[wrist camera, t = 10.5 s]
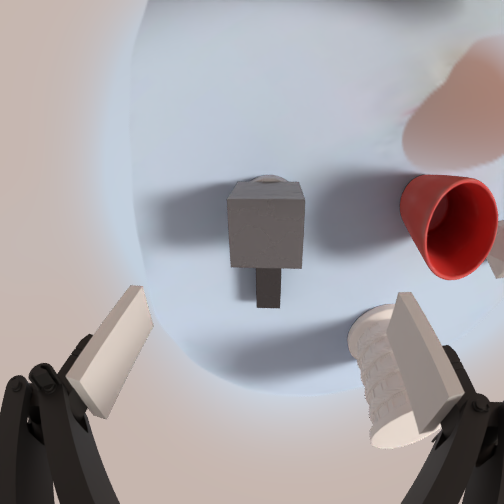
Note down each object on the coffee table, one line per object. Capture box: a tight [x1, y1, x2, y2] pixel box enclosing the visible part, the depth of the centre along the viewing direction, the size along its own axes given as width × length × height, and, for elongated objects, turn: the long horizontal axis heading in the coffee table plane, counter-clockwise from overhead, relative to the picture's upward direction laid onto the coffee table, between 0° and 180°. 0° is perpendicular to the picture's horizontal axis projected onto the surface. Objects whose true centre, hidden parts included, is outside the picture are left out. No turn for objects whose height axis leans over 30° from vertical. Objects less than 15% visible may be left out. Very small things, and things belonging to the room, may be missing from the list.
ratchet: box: [251, 175, 288, 308], centre depth 32 cm, size 16×7×6 cm, turn 1°
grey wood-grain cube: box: [227, 181, 305, 269], centre depth 27 cm, size 6×6×7 cm
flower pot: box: [400, 175, 498, 280], centre depth 26 cm, size 11×11×10 cm
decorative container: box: [347, 304, 441, 449], centre depth 32 cm, size 12×12×18 cm
